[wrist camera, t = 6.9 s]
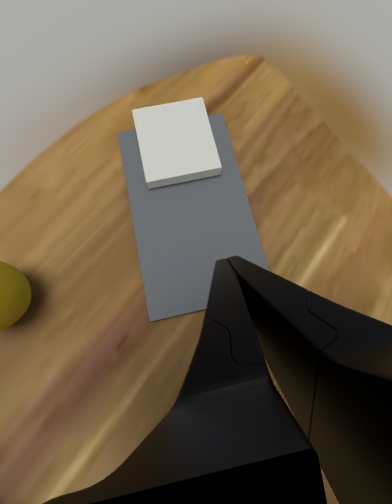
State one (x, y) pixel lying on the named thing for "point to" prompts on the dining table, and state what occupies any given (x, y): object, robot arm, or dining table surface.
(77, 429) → the dining table surface
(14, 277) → the lemon
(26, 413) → the dining table surface
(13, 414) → the dining table surface
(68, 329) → the dining table surface
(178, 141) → the tile
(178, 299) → the mat
